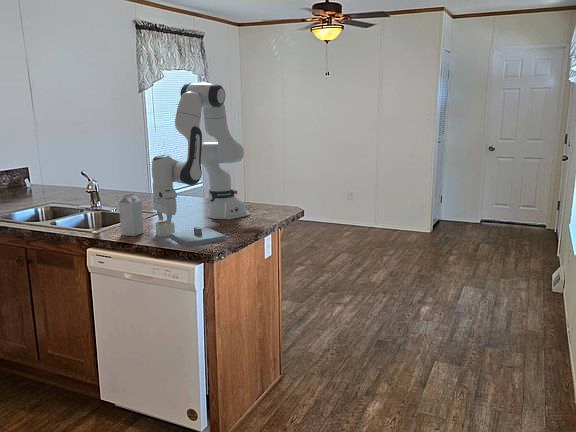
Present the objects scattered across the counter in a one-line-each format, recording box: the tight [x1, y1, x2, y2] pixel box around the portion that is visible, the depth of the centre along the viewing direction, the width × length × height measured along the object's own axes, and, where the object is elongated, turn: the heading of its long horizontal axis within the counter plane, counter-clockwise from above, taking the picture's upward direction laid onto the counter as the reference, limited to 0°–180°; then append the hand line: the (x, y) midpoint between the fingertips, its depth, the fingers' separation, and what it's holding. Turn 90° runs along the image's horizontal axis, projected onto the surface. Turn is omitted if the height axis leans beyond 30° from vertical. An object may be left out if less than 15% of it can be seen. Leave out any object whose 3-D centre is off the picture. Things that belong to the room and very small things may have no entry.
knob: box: [154, 220, 176, 238], centre depth 230 cm, size 5×7×6 cm
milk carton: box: [118, 191, 145, 237], centre depth 231 cm, size 7×7×19 cm
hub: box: [170, 226, 227, 248], centre depth 222 cm, size 18×18×5 cm
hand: (164, 222), depth 229 cm, fingers open, 8 cm apart
